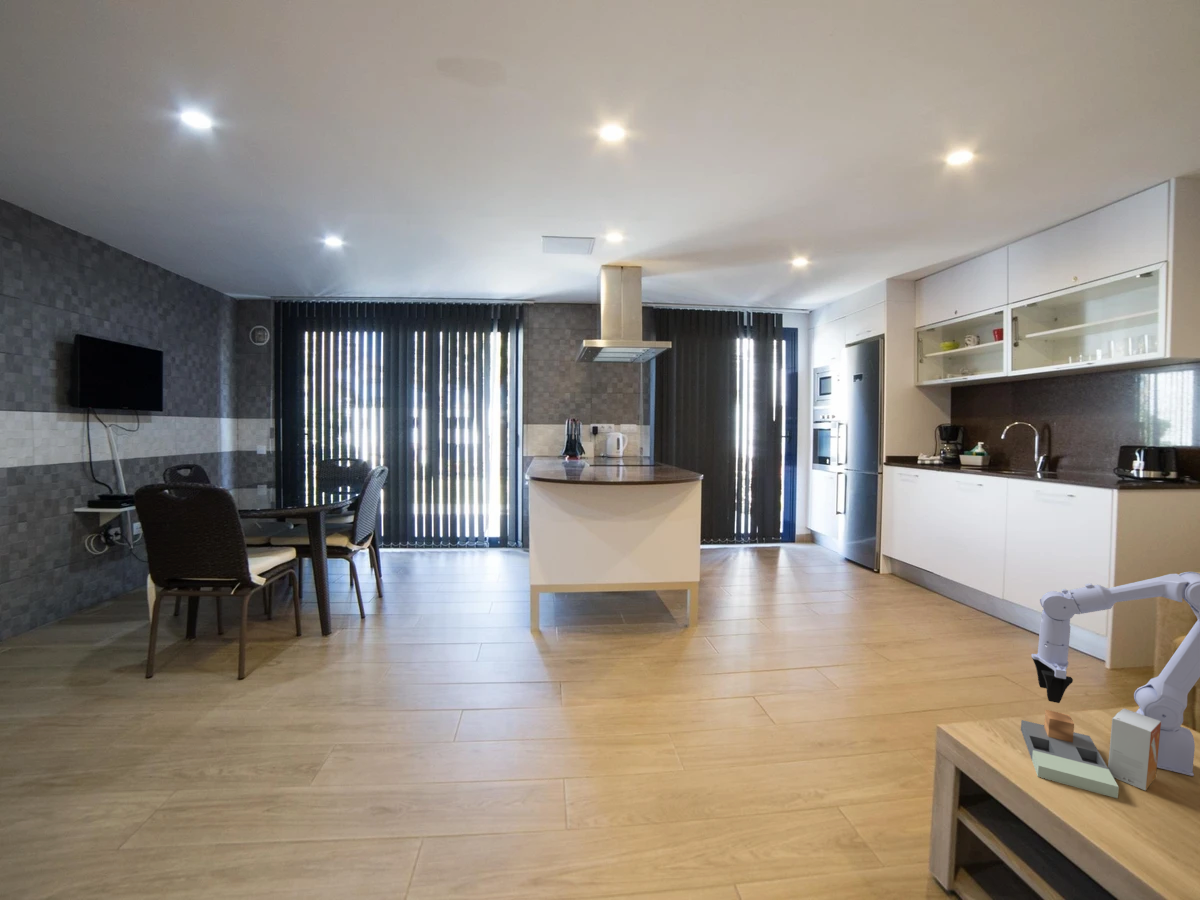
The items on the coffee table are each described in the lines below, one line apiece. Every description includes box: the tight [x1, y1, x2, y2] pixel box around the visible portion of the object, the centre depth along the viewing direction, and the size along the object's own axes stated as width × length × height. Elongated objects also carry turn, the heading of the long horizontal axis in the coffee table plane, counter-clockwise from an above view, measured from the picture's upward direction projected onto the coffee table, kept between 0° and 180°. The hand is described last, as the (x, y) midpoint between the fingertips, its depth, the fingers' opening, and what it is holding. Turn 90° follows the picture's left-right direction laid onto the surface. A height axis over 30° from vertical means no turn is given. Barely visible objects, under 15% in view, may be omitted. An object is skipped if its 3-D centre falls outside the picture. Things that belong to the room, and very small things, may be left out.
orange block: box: [1043, 709, 1075, 743], centre depth 130 cm, size 4×4×4 cm
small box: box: [1107, 708, 1161, 791], centre depth 119 cm, size 8×6×13 cm
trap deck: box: [1020, 719, 1120, 799], centre depth 124 cm, size 13×21×2 cm, turn 150°
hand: (1049, 694), depth 136 cm, fingers open, 7 cm apart
